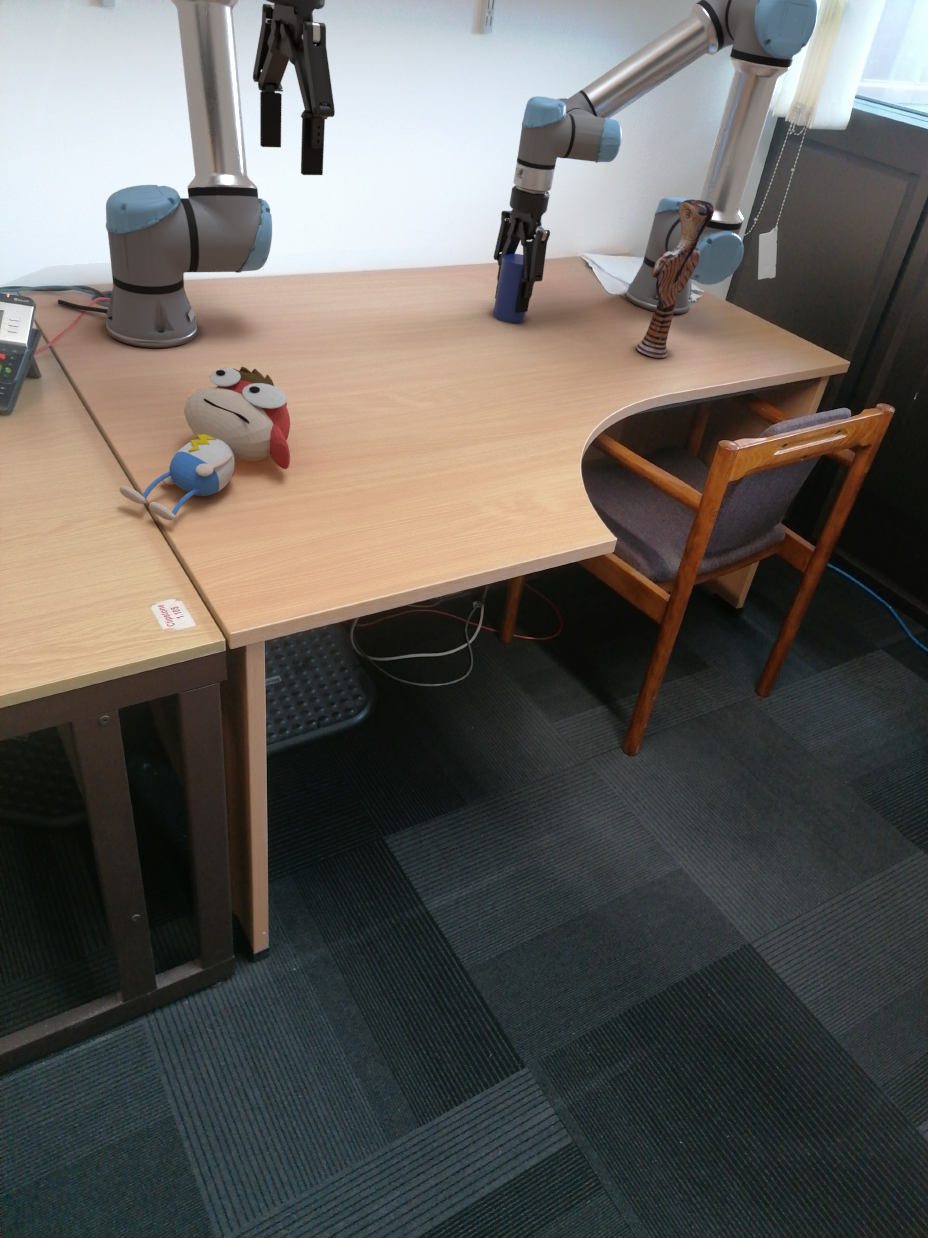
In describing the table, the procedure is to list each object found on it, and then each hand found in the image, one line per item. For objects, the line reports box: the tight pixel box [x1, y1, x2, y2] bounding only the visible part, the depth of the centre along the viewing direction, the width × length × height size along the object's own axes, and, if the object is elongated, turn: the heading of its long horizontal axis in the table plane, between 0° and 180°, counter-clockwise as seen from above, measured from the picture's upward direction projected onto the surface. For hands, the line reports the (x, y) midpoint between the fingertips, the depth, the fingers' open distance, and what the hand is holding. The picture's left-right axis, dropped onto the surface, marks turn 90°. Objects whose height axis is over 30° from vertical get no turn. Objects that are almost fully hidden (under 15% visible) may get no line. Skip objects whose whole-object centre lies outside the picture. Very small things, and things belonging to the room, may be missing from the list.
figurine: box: [635, 198, 714, 359], centre depth 176 cm, size 15×8×30 cm, turn 144°
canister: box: [492, 253, 530, 324], centre depth 186 cm, size 7×7×12 cm
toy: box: [119, 366, 291, 521], centre depth 123 cm, size 18×10×30 cm
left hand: (290, 160), depth 119 cm, fingers open, 13 cm apart
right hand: (510, 304), depth 188 cm, fingers closed on canister, 7 cm apart
